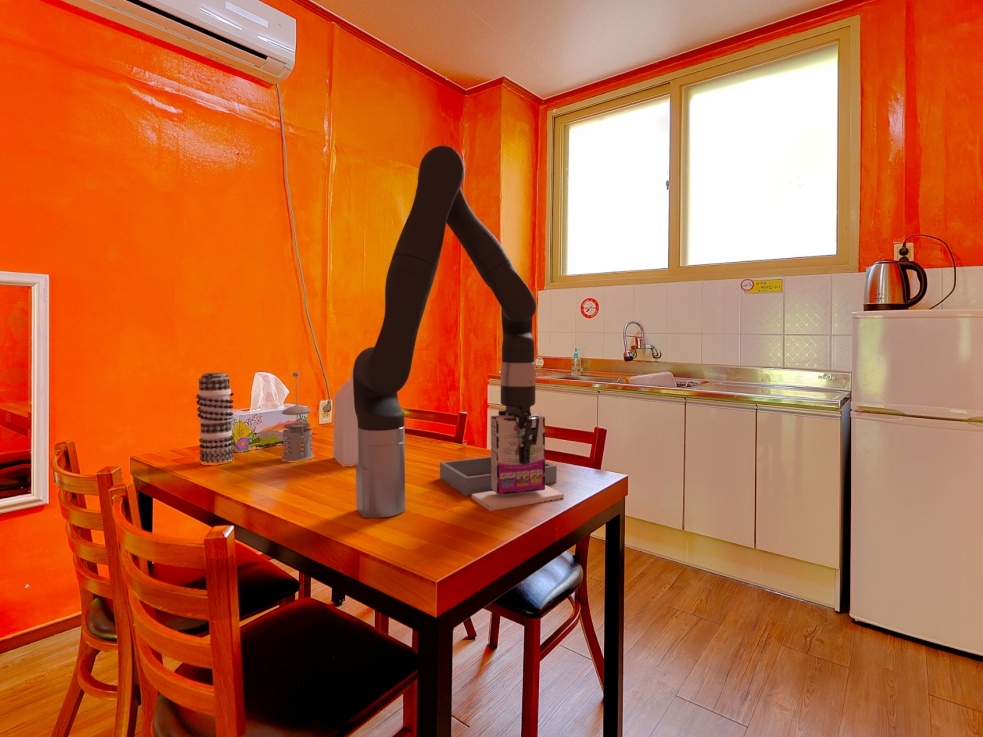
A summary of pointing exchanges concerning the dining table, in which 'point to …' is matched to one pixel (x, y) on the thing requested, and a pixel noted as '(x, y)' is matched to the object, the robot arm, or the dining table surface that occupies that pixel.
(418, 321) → the robot arm
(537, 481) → the candy bar box
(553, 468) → the bin
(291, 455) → the french press
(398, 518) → the dining table surface
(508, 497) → the board
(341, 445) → the milk
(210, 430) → the decorative candle
